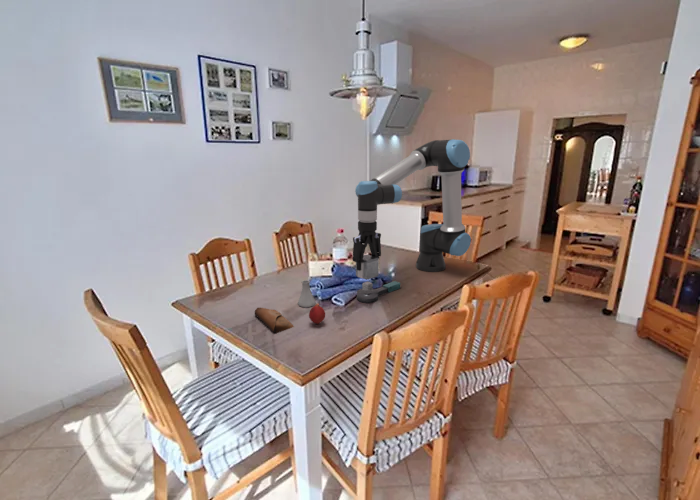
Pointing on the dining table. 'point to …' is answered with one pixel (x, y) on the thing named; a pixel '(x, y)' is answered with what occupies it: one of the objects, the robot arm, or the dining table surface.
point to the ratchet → (375, 291)
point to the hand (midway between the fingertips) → (367, 275)
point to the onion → (317, 314)
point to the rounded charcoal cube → (369, 267)
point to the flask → (306, 295)
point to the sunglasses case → (273, 319)
